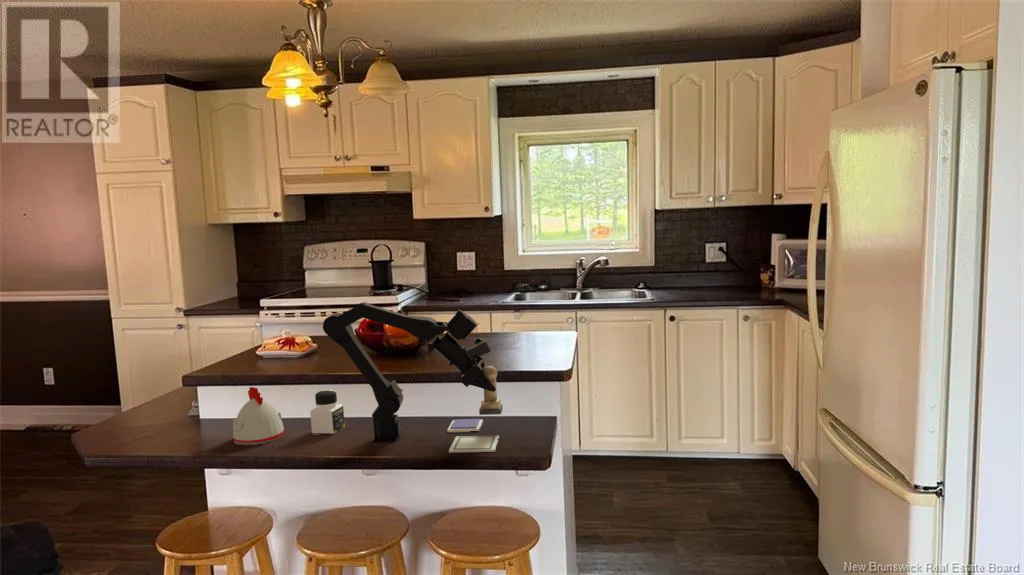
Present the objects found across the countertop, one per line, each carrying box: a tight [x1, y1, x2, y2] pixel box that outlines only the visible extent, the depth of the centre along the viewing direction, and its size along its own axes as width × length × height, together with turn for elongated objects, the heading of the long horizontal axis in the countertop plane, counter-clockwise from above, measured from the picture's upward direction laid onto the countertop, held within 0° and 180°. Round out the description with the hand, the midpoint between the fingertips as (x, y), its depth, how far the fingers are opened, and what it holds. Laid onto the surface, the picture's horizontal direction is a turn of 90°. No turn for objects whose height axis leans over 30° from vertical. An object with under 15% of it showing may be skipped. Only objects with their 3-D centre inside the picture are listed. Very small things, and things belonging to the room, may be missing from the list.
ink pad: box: [446, 418, 484, 433], centre depth 189 cm, size 9×9×1 cm
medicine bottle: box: [309, 389, 345, 435], centre depth 192 cm, size 7×7×12 cm
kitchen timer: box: [232, 386, 285, 442], centre depth 188 cm, size 14×14×15 cm
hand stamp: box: [478, 365, 504, 416], centre depth 182 cm, size 6×5×13 cm
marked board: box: [448, 435, 500, 454], centre depth 173 cm, size 12×11×1 cm
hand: (494, 388), depth 182 cm, fingers closed on hand stamp, 4 cm apart
